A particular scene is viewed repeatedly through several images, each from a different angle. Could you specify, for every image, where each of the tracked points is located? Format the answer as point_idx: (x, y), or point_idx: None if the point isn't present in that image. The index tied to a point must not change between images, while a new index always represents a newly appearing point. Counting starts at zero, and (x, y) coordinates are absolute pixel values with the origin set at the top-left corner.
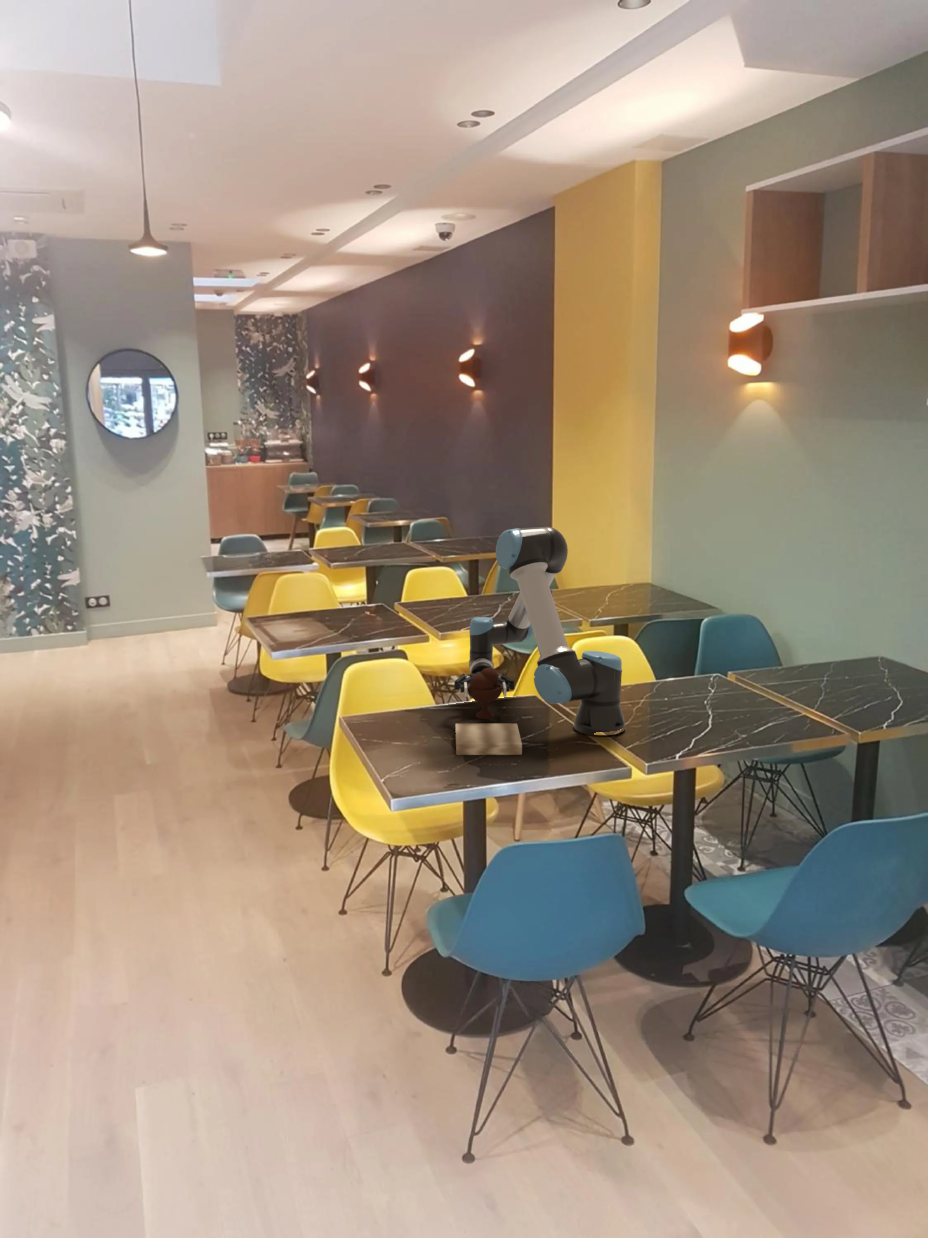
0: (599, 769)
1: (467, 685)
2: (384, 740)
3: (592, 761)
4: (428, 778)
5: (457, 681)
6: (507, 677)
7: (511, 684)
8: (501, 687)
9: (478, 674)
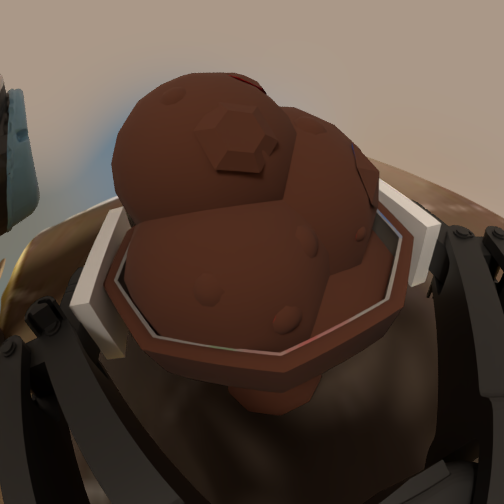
0: (66, 221)
1: (386, 208)
2: (451, 211)
3: (60, 236)
4: None
5: (493, 234)
6: (7, 485)
7: (35, 346)
8: (131, 228)
9: (291, 108)
